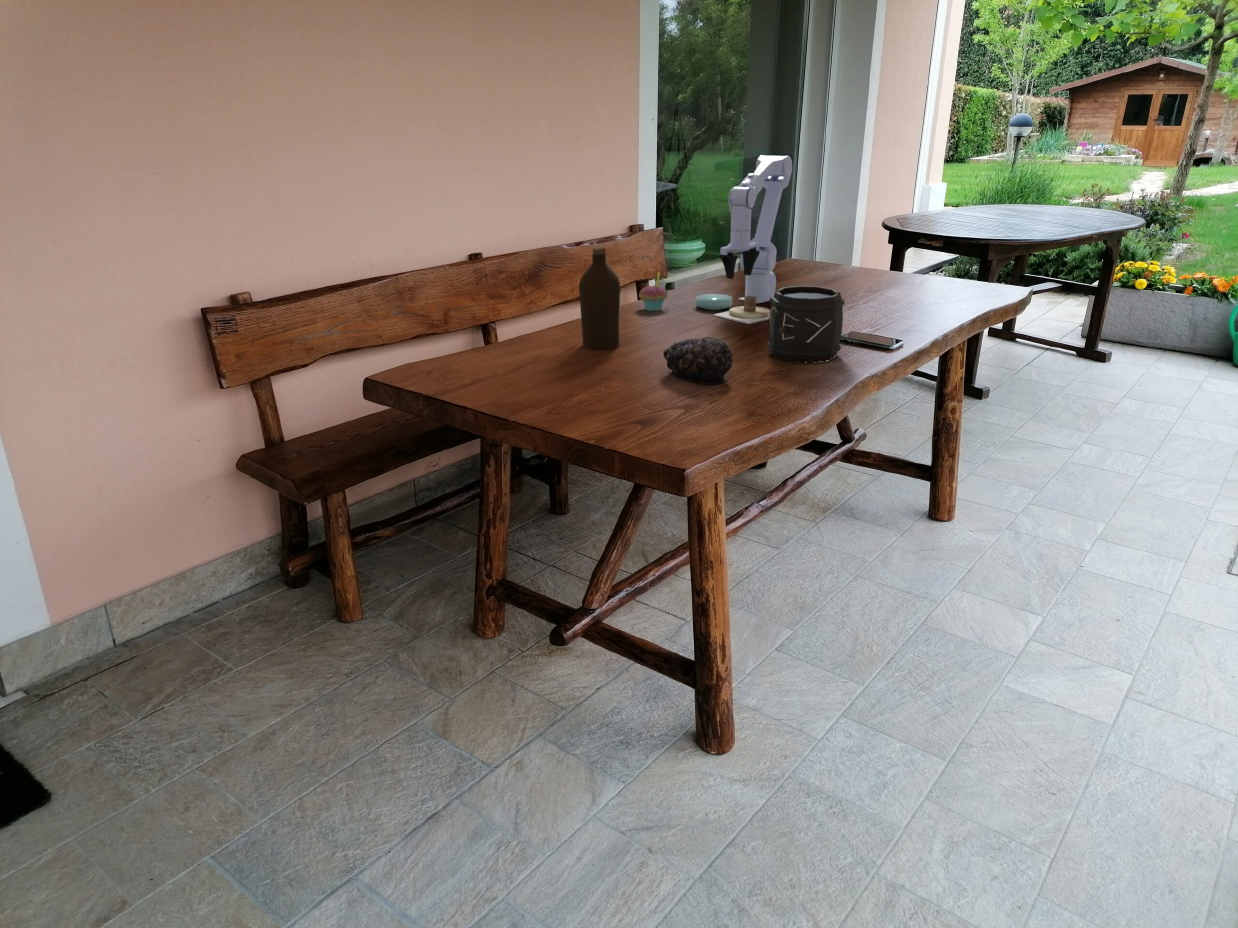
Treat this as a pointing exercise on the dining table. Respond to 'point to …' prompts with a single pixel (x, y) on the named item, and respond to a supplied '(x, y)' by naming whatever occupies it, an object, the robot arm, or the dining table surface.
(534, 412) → the dining table surface
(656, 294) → the cupcake
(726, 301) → the light blue flat disc
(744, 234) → the robot arm
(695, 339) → the pine cone
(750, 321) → the mat
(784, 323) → the dark grey barrel
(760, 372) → the dining table surface
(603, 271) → the olive oil
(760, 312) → the lid
